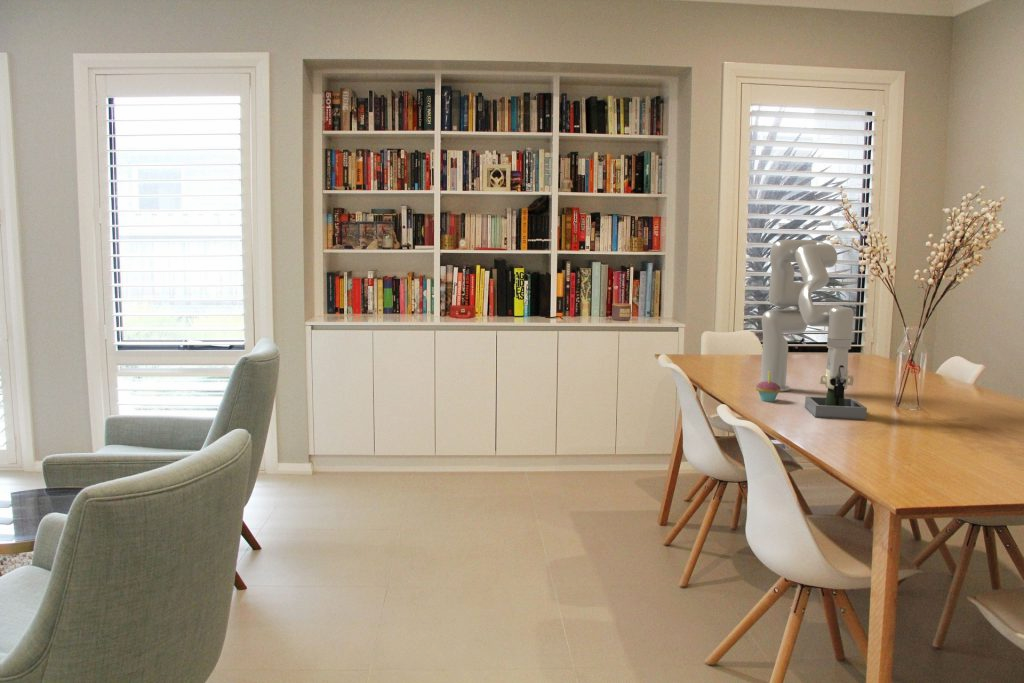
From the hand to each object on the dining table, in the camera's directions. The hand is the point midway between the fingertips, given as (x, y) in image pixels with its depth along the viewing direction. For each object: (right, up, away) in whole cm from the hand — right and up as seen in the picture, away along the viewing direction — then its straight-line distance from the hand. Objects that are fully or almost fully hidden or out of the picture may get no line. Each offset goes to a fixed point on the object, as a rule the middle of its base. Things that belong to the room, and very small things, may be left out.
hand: (835, 395), depth 265 cm
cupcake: (-16, -4, +21) cm, 27 cm away
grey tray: (0, -6, +1) cm, 6 cm away
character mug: (0, -5, +1) cm, 4 cm away
